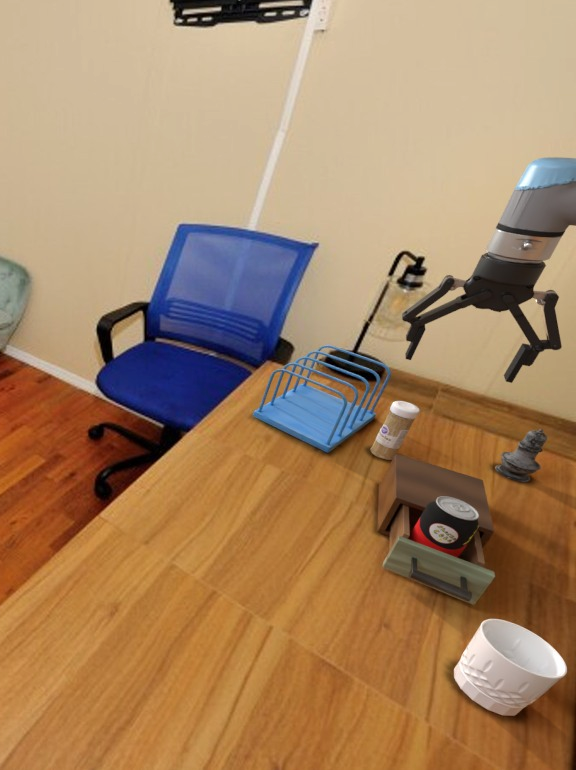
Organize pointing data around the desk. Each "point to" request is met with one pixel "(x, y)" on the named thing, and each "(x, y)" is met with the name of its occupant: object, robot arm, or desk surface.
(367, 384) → the file sorter
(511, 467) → the grey chess piece
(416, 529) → the beverage can
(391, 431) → the sprinkles bottle
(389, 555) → the drawer
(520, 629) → the white cup
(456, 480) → the cabinet
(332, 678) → the desk surface
